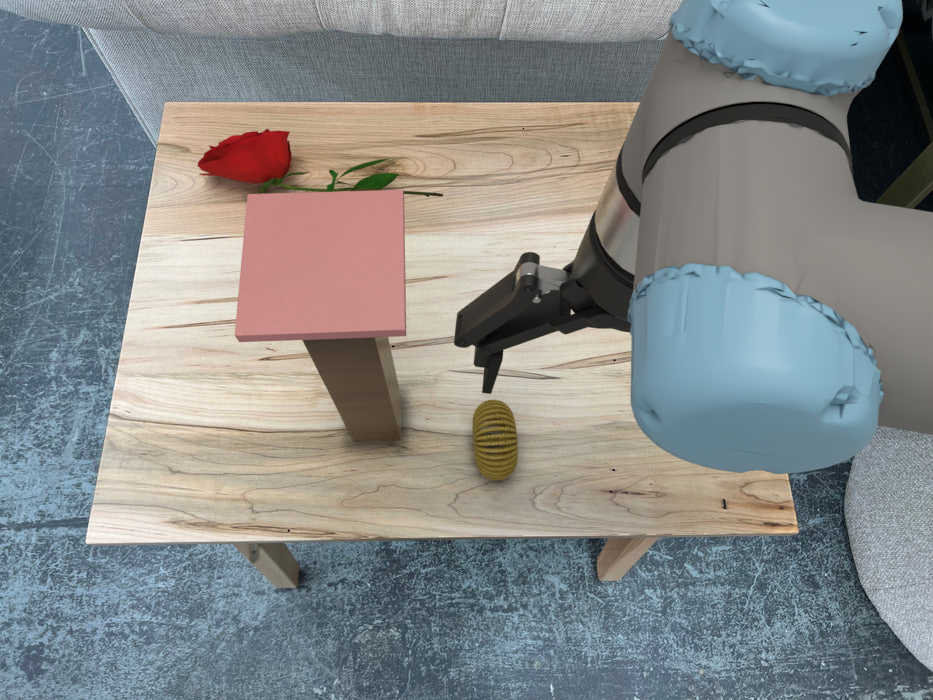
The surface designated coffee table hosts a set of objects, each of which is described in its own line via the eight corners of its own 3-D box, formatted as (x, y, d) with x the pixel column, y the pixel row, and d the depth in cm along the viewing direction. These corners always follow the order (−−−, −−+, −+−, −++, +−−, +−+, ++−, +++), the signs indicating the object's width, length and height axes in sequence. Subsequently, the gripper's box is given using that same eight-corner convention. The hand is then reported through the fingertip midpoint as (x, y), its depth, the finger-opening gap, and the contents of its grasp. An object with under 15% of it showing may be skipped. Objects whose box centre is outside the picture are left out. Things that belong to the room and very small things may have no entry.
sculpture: (515, 486, 70) (523, 468, 63) (476, 489, 70) (479, 472, 62) (507, 412, 73) (513, 386, 66) (469, 415, 73) (471, 389, 66)
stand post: (401, 439, 72) (365, 301, 42) (353, 441, 72) (283, 303, 42) (400, 394, 74) (366, 232, 44) (354, 396, 73) (287, 234, 44)
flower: (442, 135, 73) (180, 111, 77) (432, 224, 74) (173, 196, 78) (455, 153, 82) (220, 131, 86) (446, 232, 83) (213, 207, 87)
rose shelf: (406, 336, 41) (405, 329, 40) (239, 342, 41) (234, 335, 40) (404, 198, 45) (403, 189, 44) (251, 202, 45) (247, 193, 44)
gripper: (867, 209, 40) (713, 365, 59) (439, 151, 38) (424, 329, 57) (892, 321, 36) (721, 449, 55) (424, 261, 35) (413, 412, 54)
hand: (569, 388), depth 56 cm, fingers open, 13 cm apart
